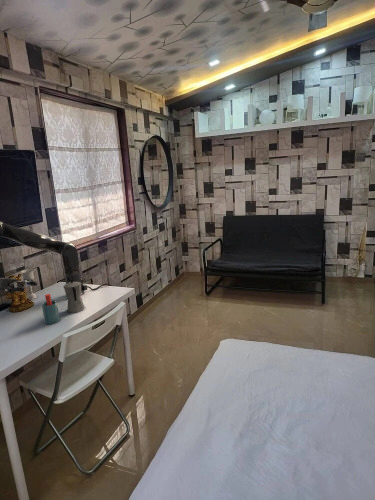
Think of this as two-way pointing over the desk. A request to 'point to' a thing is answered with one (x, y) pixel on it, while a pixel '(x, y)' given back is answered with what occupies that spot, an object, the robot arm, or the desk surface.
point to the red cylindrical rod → (48, 299)
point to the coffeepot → (74, 296)
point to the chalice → (29, 275)
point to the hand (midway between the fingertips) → (30, 286)
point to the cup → (50, 313)
